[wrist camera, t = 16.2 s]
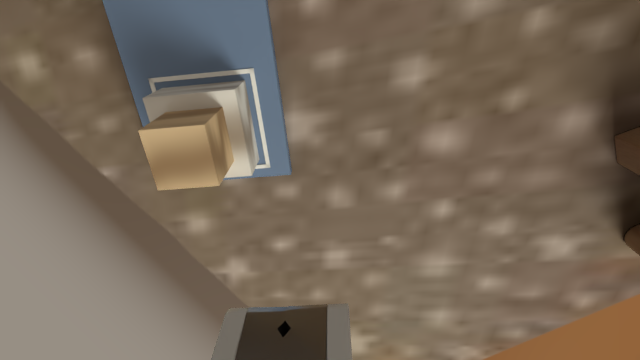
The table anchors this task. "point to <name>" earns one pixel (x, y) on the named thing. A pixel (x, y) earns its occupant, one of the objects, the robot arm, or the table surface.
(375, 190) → the table surface
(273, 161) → the board
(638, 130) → the wooden toy
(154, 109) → the base block
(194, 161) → the oak cube
